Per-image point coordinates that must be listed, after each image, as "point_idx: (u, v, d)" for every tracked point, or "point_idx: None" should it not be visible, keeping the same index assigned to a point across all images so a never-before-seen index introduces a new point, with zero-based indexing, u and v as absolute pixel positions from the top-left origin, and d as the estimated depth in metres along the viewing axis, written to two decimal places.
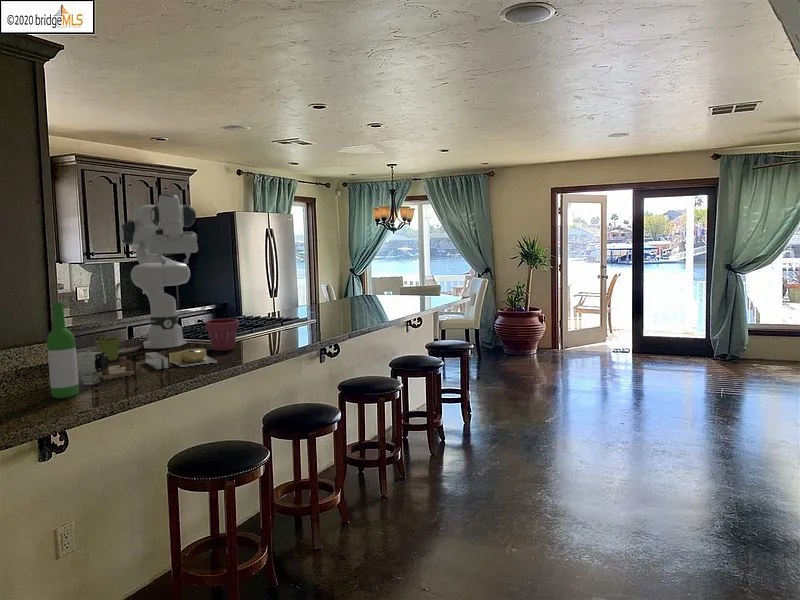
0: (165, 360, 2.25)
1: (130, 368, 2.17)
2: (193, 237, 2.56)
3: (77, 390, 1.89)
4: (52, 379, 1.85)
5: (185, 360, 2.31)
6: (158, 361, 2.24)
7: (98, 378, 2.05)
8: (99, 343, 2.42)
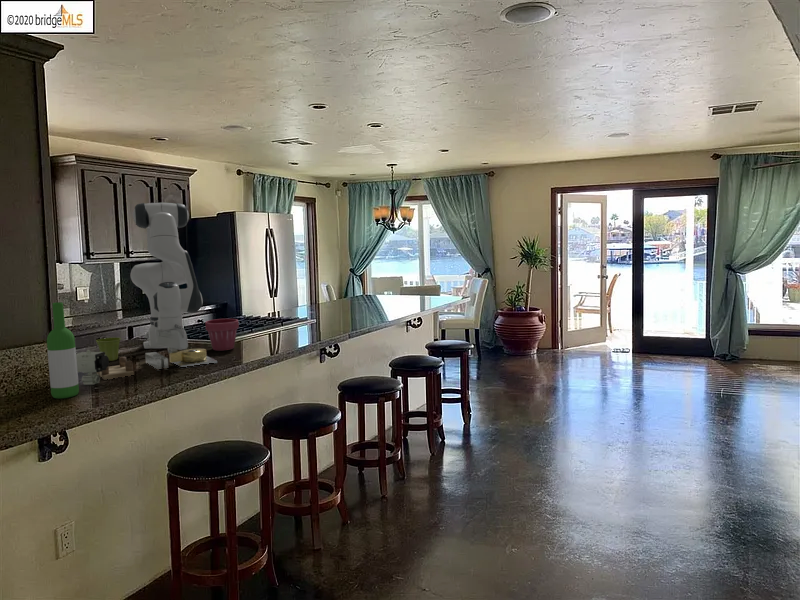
0: (165, 360, 2.25)
1: (130, 368, 2.17)
2: (176, 333, 2.26)
3: (77, 390, 1.89)
4: (52, 379, 1.85)
5: (185, 360, 2.31)
6: (158, 361, 2.24)
7: (98, 378, 2.05)
8: (99, 343, 2.42)
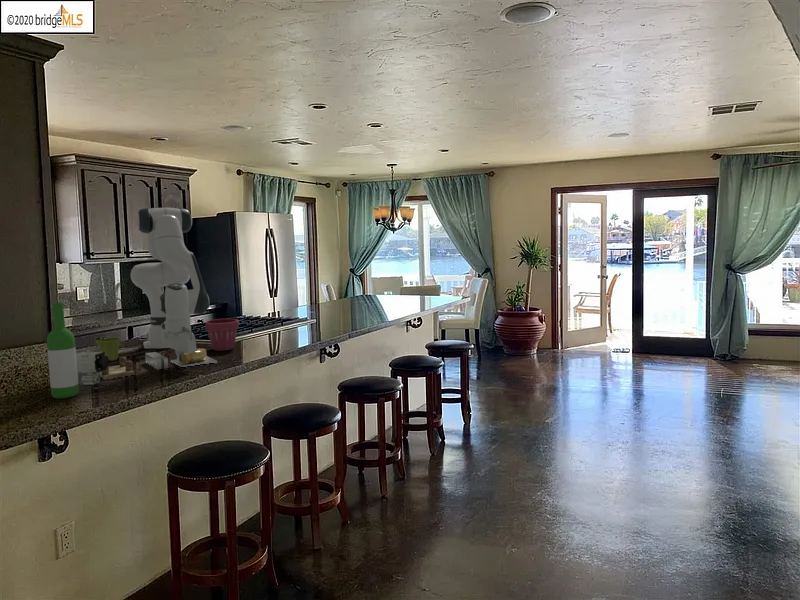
0: (165, 360, 2.25)
1: (130, 368, 2.17)
2: (185, 336, 2.21)
3: (77, 390, 1.89)
4: (52, 379, 1.85)
5: (196, 359, 2.32)
6: (158, 361, 2.24)
7: (98, 378, 2.05)
8: (99, 343, 2.42)
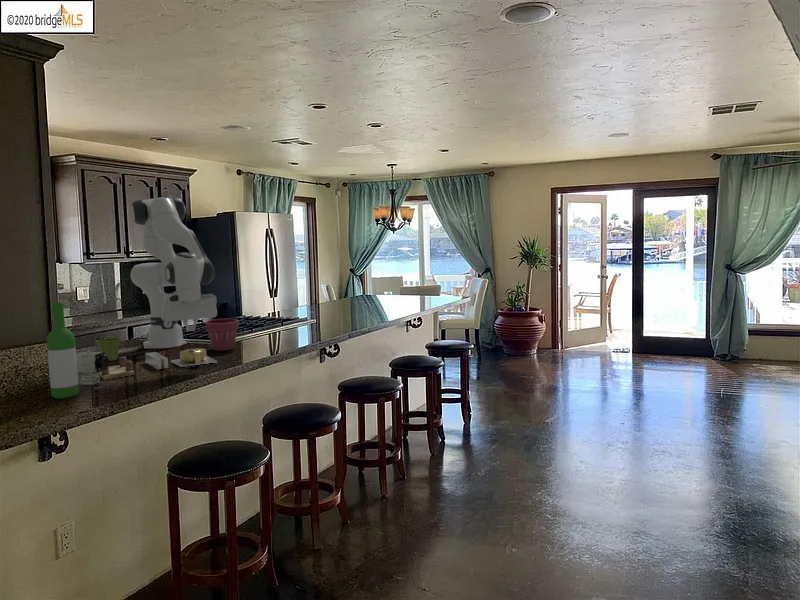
0: (165, 360, 2.25)
1: (130, 368, 2.17)
2: (212, 301, 2.29)
3: (77, 390, 1.89)
4: (52, 379, 1.85)
5: (203, 358, 2.34)
6: (158, 361, 2.24)
7: (98, 378, 2.05)
8: (99, 343, 2.42)
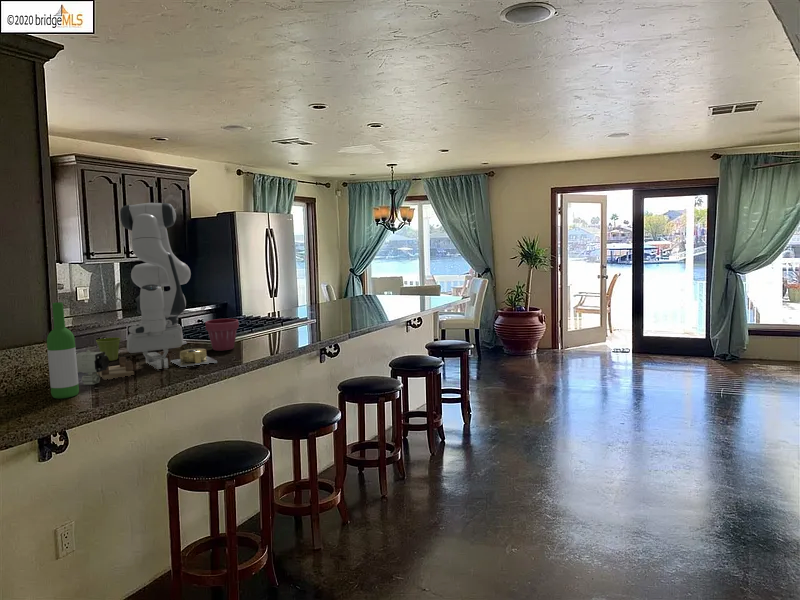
0: (165, 360, 2.25)
1: (130, 368, 2.17)
2: (177, 331, 2.35)
3: (77, 390, 1.89)
4: (52, 379, 1.85)
5: (203, 358, 2.34)
6: (158, 361, 2.24)
7: (98, 378, 2.05)
8: (99, 343, 2.42)
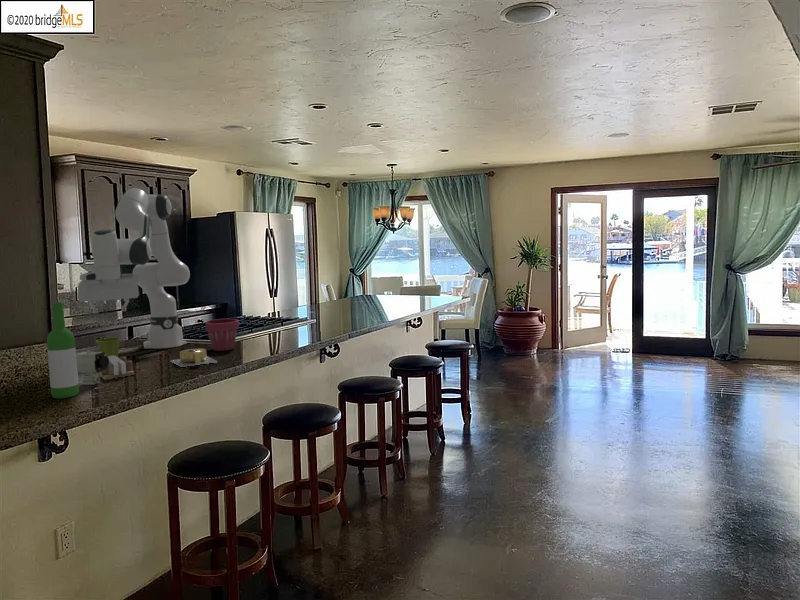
0: (122, 364, 2.12)
1: (130, 368, 2.17)
2: (133, 281, 2.19)
3: (77, 390, 1.89)
4: (52, 379, 1.85)
5: (203, 358, 2.34)
6: (115, 365, 2.10)
7: (98, 378, 2.05)
8: (99, 343, 2.42)
